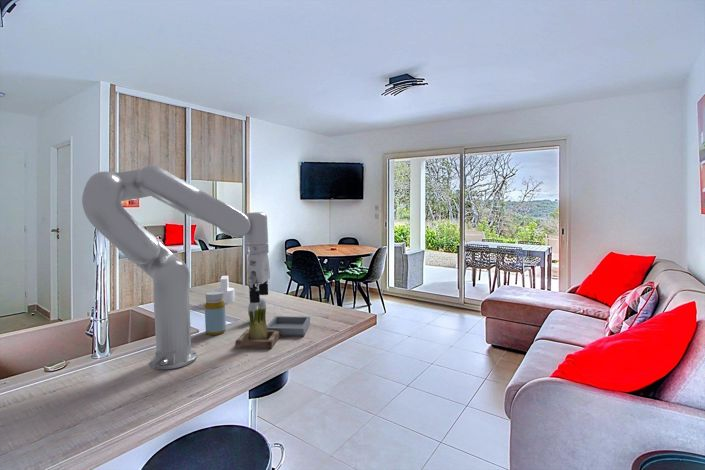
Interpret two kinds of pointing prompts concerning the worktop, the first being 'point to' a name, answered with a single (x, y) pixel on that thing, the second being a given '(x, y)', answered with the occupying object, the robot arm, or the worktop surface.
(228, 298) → the cylinder with rectangular tab
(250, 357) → the worktop surface
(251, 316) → the fennel bulb
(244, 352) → the worktop surface
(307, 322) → the tray
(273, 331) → the holder
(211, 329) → the bottle
